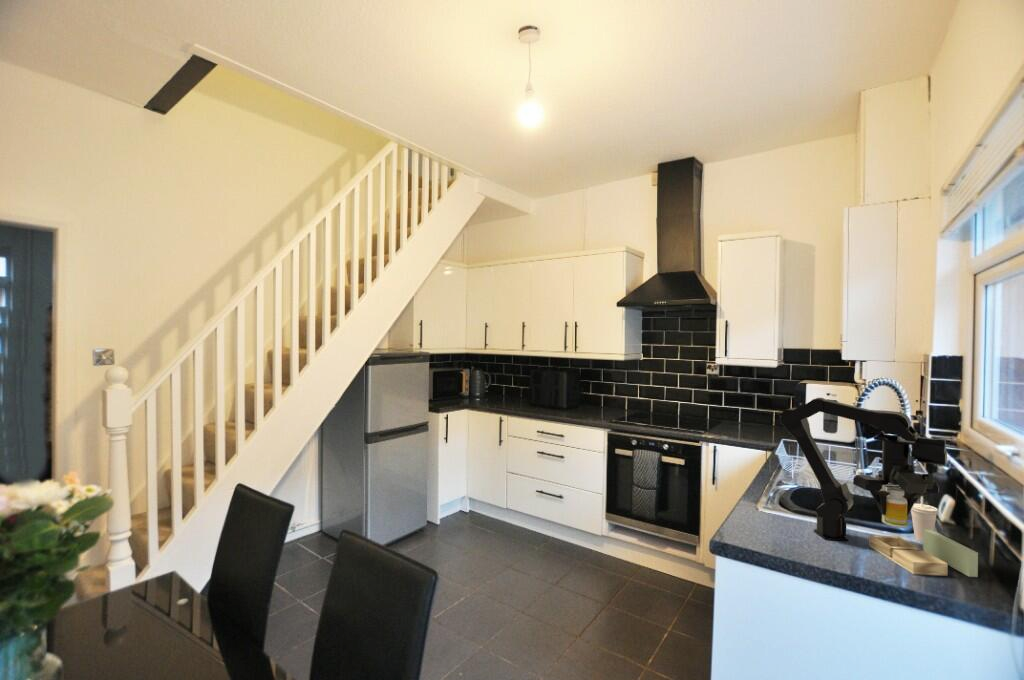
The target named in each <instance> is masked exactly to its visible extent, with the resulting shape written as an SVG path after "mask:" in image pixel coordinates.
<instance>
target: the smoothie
mask: <svg viewBox="0 0 1024 680" xmlns="http://www.w3.org/2000/svg"><path fill="white" fill-rule="evenodd" d="M910 514H911V520H912V526H913V533H914V539H915V540H917V541H920V542H921V543H924V530H933V531H935V525H936V519H937V515H938V514H939V509H938V508H937V507H935V506H932V505H928V504H924V496H921V497H920V503H916V502H915V503H914V505H913V507H912V509H911V511H910Z"/></svg>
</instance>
